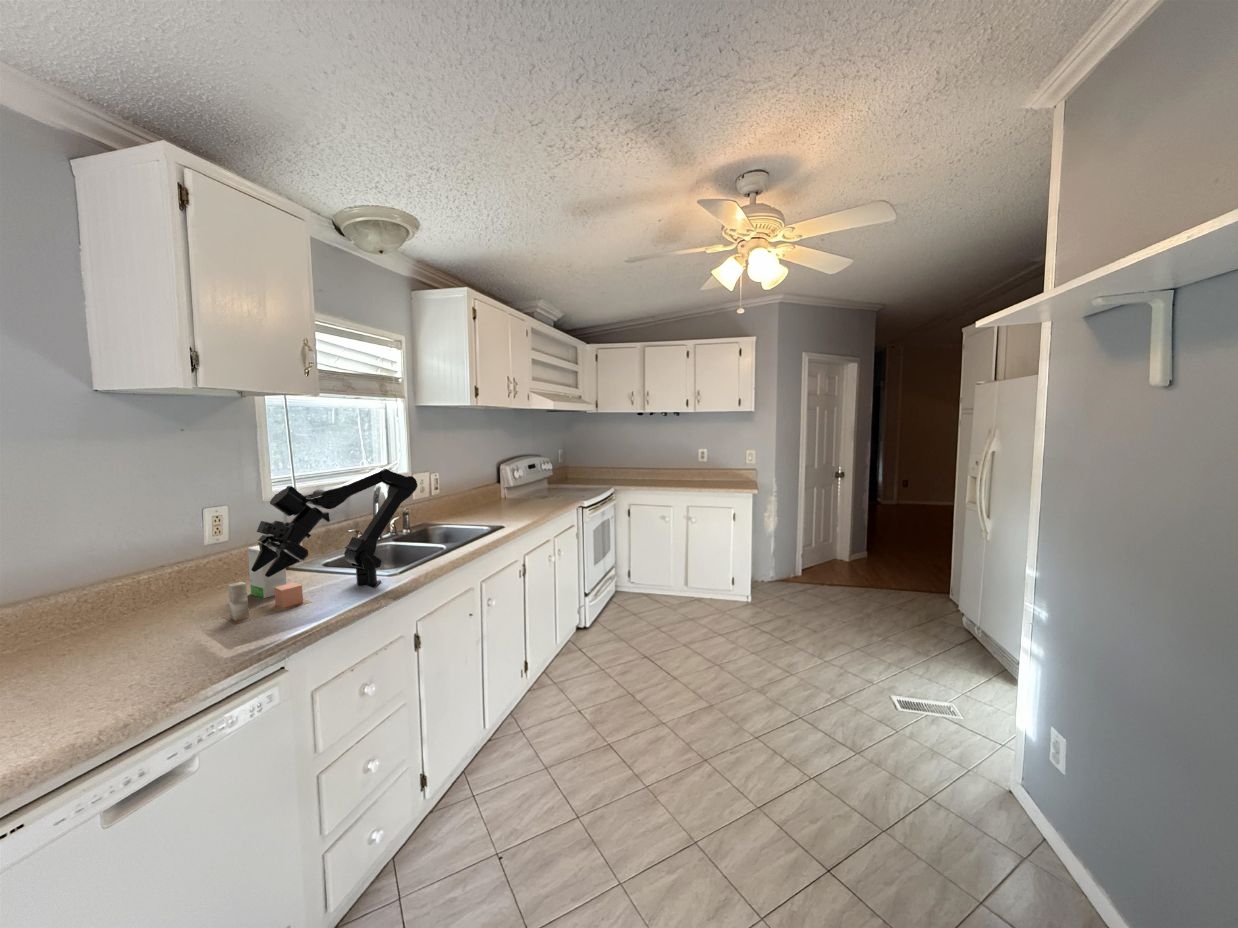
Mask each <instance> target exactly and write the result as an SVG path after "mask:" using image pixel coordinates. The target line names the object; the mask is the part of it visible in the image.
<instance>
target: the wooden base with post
mask: <svg viewBox="0 0 1238 928" xmlns="http://www.w3.org/2000/svg"><path fill="white" fill-rule="evenodd" d="M227 588H228V599H229V609H230V610H229V611H230V614H229V615H226V616H222V618H223V619H225V620H226V621H228V622H230V623H231V624H233V625H239V624H243V623H245V622H249V621H252V620H256V619H260V618H263V617H267V616H270V615H274V614H276V613H280V612H284V611H288V610H291V609H294V608H297V607H301V606H304V605H305V606H306V605H308V604H312V603H313V602H312V601H310V600H308V599H306V598H303V603H300V604H296V605H293V606H289V607H286V608H282V607H279V606H277V605H275V602H272V603H269V604H266V605H262V606H258V607H254V608H251V609H249V602H248V601H249V600H248V589H247V583H246V582H244V581H238V582H234V583H229V584H227Z"/></svg>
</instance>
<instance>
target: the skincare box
mask: <svg viewBox="0 0 1238 928" xmlns="http://www.w3.org/2000/svg"><path fill="white" fill-rule="evenodd" d="M259 552H260V548H259V545H253V546H250V547H247V553H248V554H247V555H248V573H249V589H250V591H249V593H250V594H249V595H251V596H254V597H255V596H256V597H258V598H259V597H260V598H264V599H266V598H271V597H275V593H274V587H277V586H281V585H285V584H287V570H286V569H287V568H285V569H283V570H281V571H279V572H278V573H276V574H274V575H272V576H270V577H267V576H265V574H266V572H267V570H268V569H269V568H270V566H271V565H272V563H273V562H274V560H275V559H276V558H275V559H274V560H272V561H271V562H269V563H268V564H266V565H265V566H263V567H262V568H260V569H259V570H257V571H256V572H253V571H252V570H251V569H252V567H253V565H254V563H255V561H256V559H257V557H258V554H259Z"/></svg>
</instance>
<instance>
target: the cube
mask: <svg viewBox="0 0 1238 928" xmlns="http://www.w3.org/2000/svg"><path fill="white" fill-rule="evenodd" d="M274 593H275V595H274V601H275V602H274V603H275V605H277V606H279V607H282V608H286V607H289V606H293V605H296V604H300V603H303V599H304V597H303V586H302V584H300V583H296V582H295V581H294V582H289V583H286V584H285V585H281V586H277V587H274Z"/></svg>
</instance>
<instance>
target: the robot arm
mask: <svg viewBox="0 0 1238 928" xmlns="http://www.w3.org/2000/svg"><path fill="white" fill-rule="evenodd" d="M380 483H383V484H384V485H386V486H388V488H387V496H386V498H385V499H384V501H383V502H382V504H381V506H380V507H379V509H378V510H377V512H376V513H375V515H374V516H373V518H372V519H371V521H370V522H369V524H368V526H367V527H366V529H365V530H364V532H363V533H362V534H361V535H359V536H358V537H356V536H352V538H351V539H350V541H349V542H348V544H347V545H346V546H345V547H344V549H345V551H344V554H343V555H344V558H345V561H347V562H348V563H350V565H351V567H352V568H355V575H356V584H357V586H358V587H363V586H366V587H371V588H372V589H374V588H376V587H377V586H378V585H380V584H381V582H382V580H379V579H378V575H377V569H378V568H380V567H381V564H382V560H381V558H379V557H378V556H376V555H375V553H376V551H377V546H378V545H377V544H378V540H379V538H380V537H381V536H382V534H383V532H384V531H385V530H386V527H387V526H388V525H389V523H390V521H391V520H392V518H393V517H394V515H395V513H397V510H398V509H399V507H400V505H401V504H402V503H403V502H404V501H406V500H407V499H409V498H410V497H411V496H412V495H413V494H414V492H416V490H417V488H418V481H417V479H416V478H415V477H414V476H411V475H403V474H400V473H398V472H394V471H392V470H389V469H388V468H382V467H381V468H380V467H379V468H376V469H375V470H373V471H371V472H368V473H365V474H364V475H360V476H359V477H356V478H353V479H351V480H349V481H347V482H343V483H342V484H337V485H330V486H326V487H322V488H318V489H316V490H314V491H313V492H312V493H311V494H306V495H303V494H302V493H300V492H299V491H298V489H296V488H295V487H293V486H292V485H287V486H286V488H284V489H282V490H280V491H278V493H276V494H274V495H273V496H272V497H271V499H270V502H269V505H271V506H272V507H274V508H275V509H277V510H278V511H280V512H281V513H283V514H284V515H286V516H287V517H291V516H294V517H293V519H292V520H291V521H290V522H289V521H288V522H285V523H284V521H279V520H274V521H273V522H269V521H263V520H261V521H260V523H259V524H258V527H257V530H256V531H255V532H256V533H260V534H262V535H261V536H260V537H259V538H258V539H257V542H258V543H257V544H258V545H257V546H259V548H260V552H259V554H258V557H257V559H256V561H255V563H254V565H253V567H252V569H251V570H252V571H253V572H256V571H257V570H259V569H260V568H262V567H263V566H265V565H266V564H268V563H269V562H271V561H272V560H274V559H275V558H276V559H275V560H274V562H273V563H272V565H271V566H270V568H269V569H268V570H267V572H266V574H265V576H267V577H270V576H272V575H274V574H276V573H278V572H279V571H281V570H283V569H285V568H286V569H287V568H289V567H291V566H292V565H293V566H294V565H295V564H297V563H300V562H301V561H302V562H303V561H305V560H306V559H307V557H308V556H309V549H307V548H305V547H304V546H303V545H301V544H302V543H303V541H304V540H305V539H306V538H307V539H309V538H311V537H312V535H311V534H310V533H312V531H313V530H314V529H315V528H316V526H317V525H318V524H320V521H323V522H327V523H329V522H330V521H331V519H330V512H328V511H322V510H321V509H325V510H333V509H335V508H338V506H340V505H341V504H343V503H345V502H346V501H347V499H348V498H350V497H351V496H353V495H356V494H357V493H361V492H363V491H365V490H367V489H370V488H371V487H375V486H377V485H378V484H380ZM309 505H313V506H314V507H311V506H309Z"/></svg>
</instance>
